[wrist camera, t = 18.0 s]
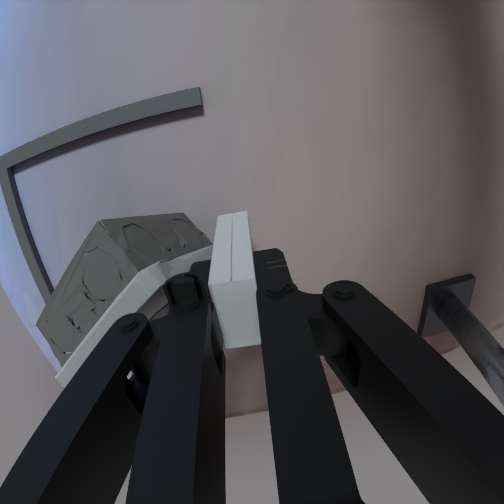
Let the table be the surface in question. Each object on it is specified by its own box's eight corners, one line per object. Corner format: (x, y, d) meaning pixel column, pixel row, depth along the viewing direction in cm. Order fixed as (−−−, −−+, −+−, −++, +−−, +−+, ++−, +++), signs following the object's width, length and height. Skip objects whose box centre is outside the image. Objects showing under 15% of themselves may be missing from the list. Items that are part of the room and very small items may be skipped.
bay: (-1, 157, 15) (-6, 159, 15) (199, 87, 15) (198, 87, 14) (71, 342, 22) (68, 346, 22) (245, 326, 22) (245, 331, 21)
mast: (426, 285, 21) (530, 417, 9) (470, 273, 21) (573, 381, 9) (417, 332, 24) (494, 459, 11) (459, 319, 24) (539, 427, 11)
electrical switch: (150, 331, 21) (88, 417, 12) (100, 281, 20) (16, 345, 12) (239, 245, 19) (201, 320, 10) (179, 185, 18) (91, 209, 9)
